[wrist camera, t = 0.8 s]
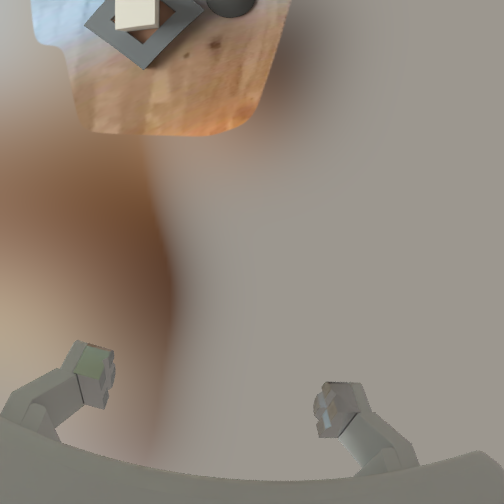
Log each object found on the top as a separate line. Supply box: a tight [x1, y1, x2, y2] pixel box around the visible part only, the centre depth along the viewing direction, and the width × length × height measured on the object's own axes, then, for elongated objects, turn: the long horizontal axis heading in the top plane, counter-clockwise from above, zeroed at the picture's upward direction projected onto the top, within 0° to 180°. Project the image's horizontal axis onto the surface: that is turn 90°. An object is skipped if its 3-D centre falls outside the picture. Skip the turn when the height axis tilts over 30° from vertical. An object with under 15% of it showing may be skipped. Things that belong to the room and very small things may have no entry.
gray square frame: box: [84, 0, 204, 70], centre depth 33 cm, size 12×12×2 cm
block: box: [115, 0, 160, 32], centre depth 29 cm, size 4×4×11 cm
